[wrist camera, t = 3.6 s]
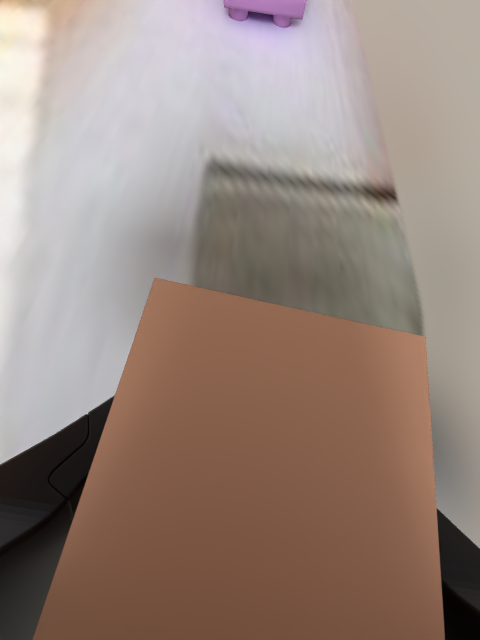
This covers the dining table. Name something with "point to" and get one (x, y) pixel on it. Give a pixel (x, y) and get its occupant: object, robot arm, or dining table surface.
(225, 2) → the purple boxy handled piece
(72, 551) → the terracotta block
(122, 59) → the dining table surface
